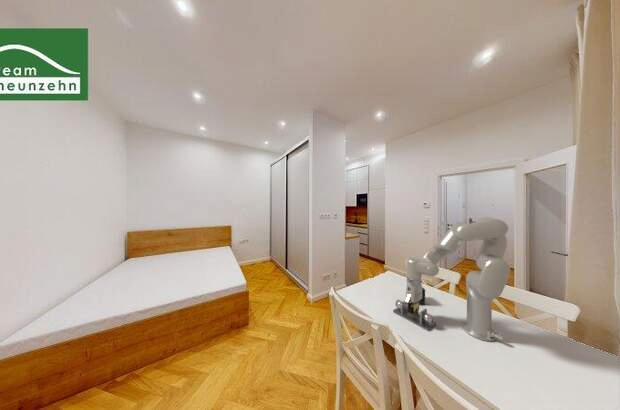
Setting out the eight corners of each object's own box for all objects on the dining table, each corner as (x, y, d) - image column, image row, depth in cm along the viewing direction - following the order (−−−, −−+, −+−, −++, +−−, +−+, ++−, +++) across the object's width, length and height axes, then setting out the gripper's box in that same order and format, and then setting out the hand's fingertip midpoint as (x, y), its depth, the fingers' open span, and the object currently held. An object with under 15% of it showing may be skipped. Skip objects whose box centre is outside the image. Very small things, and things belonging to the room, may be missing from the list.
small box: (425, 305, 123) (425, 289, 122) (415, 305, 123) (415, 289, 123) (416, 297, 133) (417, 282, 133) (407, 296, 133) (407, 282, 133)
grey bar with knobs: (436, 324, 103) (436, 311, 103) (428, 330, 98) (428, 317, 98) (401, 307, 120) (401, 296, 120) (393, 312, 115) (393, 300, 115)
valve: (420, 313, 108) (420, 301, 108) (415, 316, 105) (415, 303, 105) (411, 308, 112) (411, 297, 112) (406, 311, 110) (406, 299, 109)
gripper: (412, 286, 101) (412, 319, 101) (427, 279, 110) (427, 309, 110) (399, 281, 107) (398, 312, 107) (415, 275, 116) (414, 303, 117)
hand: (413, 310), depth 109 cm, fingers closed on valve, 5 cm apart
